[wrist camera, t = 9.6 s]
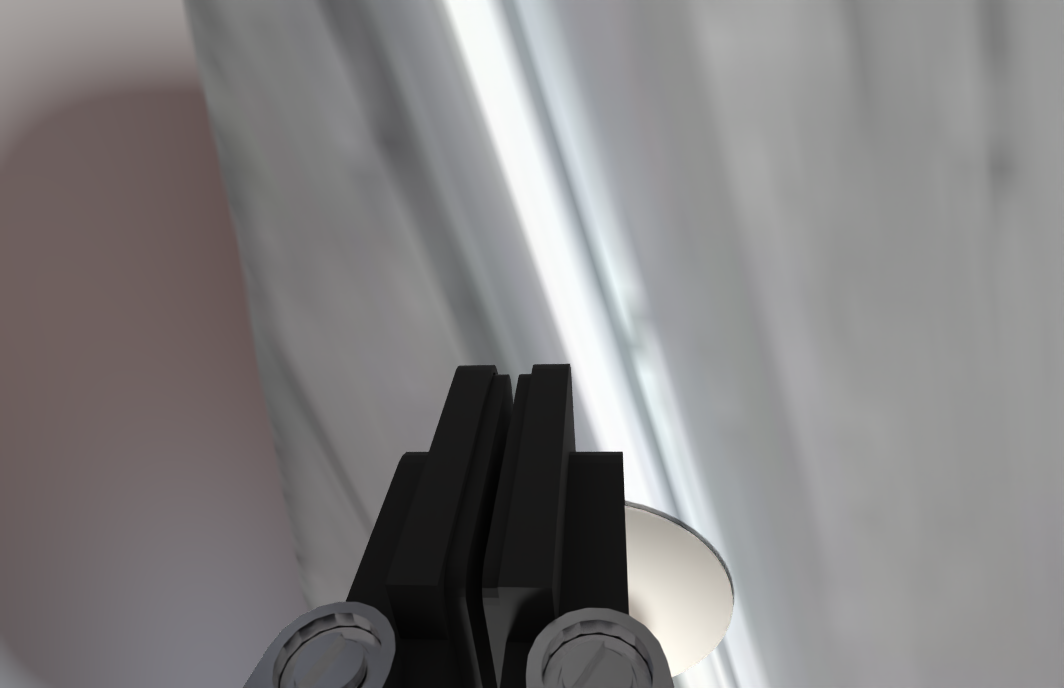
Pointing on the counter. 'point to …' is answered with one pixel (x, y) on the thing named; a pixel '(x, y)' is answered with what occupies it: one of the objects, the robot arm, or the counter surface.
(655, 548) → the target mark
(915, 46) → the counter surface
